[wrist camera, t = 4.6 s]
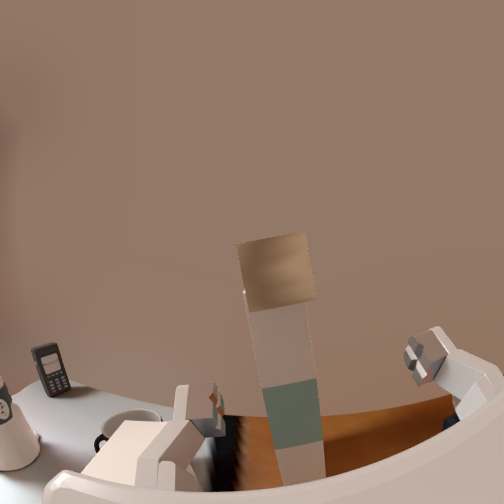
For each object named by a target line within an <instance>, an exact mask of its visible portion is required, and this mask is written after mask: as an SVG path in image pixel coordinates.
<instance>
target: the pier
mask: <svg viewBox="0 0 504 504" xmlns="http://www.w3.org/2000/svg"><path fill="white" fill-rule="evenodd" d="M167 423H168V422H152V421H130V420H125V421H124V422H123V423H122V424H121V425H120V427H119V428H118V429H117V430H116V431H115V433H114V434H113V435H112V436H111V437H110V439H109V440H108V441H107V442H106V443H105V445H104V446H103V447H102V448H101V449H100V451H99V452H98V453H97V454H96V455H95V456H94V458H93V459H92V460H91V461H90V462H89V464H88V465H87V466H86V467H85V468H84V470H83V471H82V472H81V474H84V475H87V476H91V477H95V478H99V479H103V480H107V481H111V482H116V483H121V484H126V485H132V486H135V477H136V468H137V460H138V457H139V456H140V455H141V454H142V452H143V451H144V450H145V449H146V448H147V447H148V445H149V444H150V443H151V442H152V441H153V439H154V438H155V437H156V436H157V435H158V434H159V432H160V431H161V430H162V429H163V428H164V426H165V425H166V424H167ZM186 471H187V472H189V473H190V474H192V475H193V476H195V477H196V475H195V473H194V471H193V469H192V467H191V464H189V466H188V467H187V469H186ZM196 478H197V477H196ZM197 487H198V492H204V491H203V489H202V487H201V485H200V483H199V481H198V479H197Z"/></svg>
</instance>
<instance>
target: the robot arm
mask: <svg viewBox="0 0 504 504" xmlns="http://www.w3.org/2000/svg"><path fill="white" fill-rule="evenodd" d="M408 344H409V346H408V347H407V348H406V349H405V352H404V361H405V364H406V366H407V368H408V369H410V370H412V371H413V373H412V376H413V379H414V380H415V382H416V384H417V386H418V387H419V386H422V385H424V384H426V383H428V382H431V381H433V380H434V381H433V382H435V383H436V384H438V385H439V386H441V387H442V388H444V389H445V390H447V391H448V392H450V393H451V394H453V395H454V396H456V397H457V398H459V399H460V400H461V402H460V403H459V404H458V405H457V407H456V409H455V411H456V413H457V415H458V417H459V419H460V421H459V422H458V423H456V424H454V425H453V426H451V427H449V428H448V429H446V430H444V431H443V432H441V433H439V434H437V435H435V436H433V437H432V438H430V439H428V440H426V441H424V442H422V443H420V444H418V445H416V446H414V447H412V448H409V449H407V450H405V451H403V452H400V453H398V454H396V455H393V456H391V457H389V458H386V459H384V460H381V461H378V462H376V463H373V464H370V465H367V466H364V467H361V468H358V469H355V470H352V471H349V472H346V473H342V474H339V475H335V476H331V477H327V478H323V479H319V480H315V481H310V482H305V483H300V484H295V485H289V486H283V487H276V488H269V489H260V490H250V491H235V492H198V487H197V478H196V477H195V476H193V475H192V474H190V473H189V472H187V471H186V469H187V467H188V466H189V464H190V463H191V461H192V459H193V458H194V456H195V455H196V453H197V451H198V450H199V448H200V447H201V445H202V443H203V442H204V440H205V438H206V437H218V436H225V422H224V420H223V418H222V416H223V414H224V402H223V398H222V395H221V393H220V392H218V391H217V385H216V384H215V383H208V384H195V385H179V386H178V387H177V389H176V395H175V404H174V413H173V420H169V421H168V423H167V424H166V425H165V426H164V428H163V429H162V430H161V431H160V432H159V434H158V435H157V436H156V437H155V438H154V439H153V441H152V442H151V443H150V444H149V445H148V447H147V448H146V449H145V450H144V451H143V452H142V454H141V455H140V456H139V457H138V460H137V468H136V477H135V486H132V485H126V484H121V483H116V482H111V481H107V480H103V479H99V478H95V477H91V476H87V475H84V474H81V473H77V472H74V471H71V470H63V471H61V472H60V473H58V474H57V475H56V476H55V477H54V478H53V479H51V480H50V481H49V482H48V483H47V484H46V486H45V488H44V491H43V497H42V504H504V376H503V375H502V373H501V372H500V370H499V369H498V367H497V366H496V365H494V364H491V363H489V362H487V361H485V360H483V359H480V358H478V357H476V356H474V355H472V354H470V353H467V352H465V351H463V350H461V349H459V350H457V349H456V347H455V346H454V344H453V343H452V342H451V340H450V339H449V338H448V336H447V335H446V334H445V333H444V331H443V330H442V329H441V327H439V326H436V327H434V328H431V329H429V330H426V331H423V332H421V333H419V334H416V335H414V336H411V337H410V338H409V340H408ZM38 438H39V434H38V433H37V431H35V430H32V429H31V427H30V426H29V424H28V422H27V420H26V419H25V417H24V415H23V413H22V411H21V409H20V408H19V406H18V405H17V404H15V403H13V402H12V398H11V396H10V392H9V390H8V388H7V386H6V384H5V382H3V380H2V378H1V375H0V471H11V470H17V469H20V468H23V467H25V466H27V465H29V464H30V463H31V462H33V461H34V460H35V459H36V457H37V456H38V454H39V452H40V444H39V442H38Z"/></svg>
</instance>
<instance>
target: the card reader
mask: <svg viewBox="0 0 504 504" xmlns="http://www.w3.org/2000/svg"><path fill="white" fill-rule="evenodd" d="M31 352H32V356H33V359H34V362H35V365H36V368H37V371H38V374H39V377H40V380H41V382H42V385H43V387H44V390H45V392H46V394H47V396H49V397H51V396H52V397H53V396H56V395H58V394H60V393H62V392H65V391H67V390H69V389H70V388H71V386H70V383H69V380H68V377H67V374H66V371H65V368H64V365H63V362H62V358H61V355H60V352H59V348H58V345H57V343H52V342H51V343H48V344H44V345H41V346H38V347H34V348H33V349H31Z"/></svg>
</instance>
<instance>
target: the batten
mask: <svg viewBox="0 0 504 504" xmlns="http://www.w3.org/2000/svg"><path fill="white" fill-rule="evenodd" d="M236 245H237V250H238V256H239V261H240V266H241V271H242V277H243V282H244V288H245V293H246V298H247V304H248V309H249V313H251V312H256V311H262V310H267V309H272V308H278V307H283V306H288V305H293V304H298V303H303V302H307V301H311V300H317V297H316V290H315V284H314V278H313V272H312V267H311V261H310V255H309V250H308V245H307V239H306V235H305V232H299V233H294V234H289V235H283V236H277V237H272V238H266V239H261V240H256V241H250V242H245V243H239V244H236Z"/></svg>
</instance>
